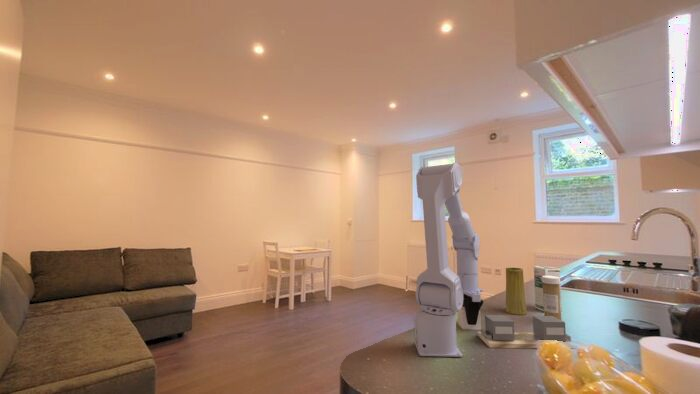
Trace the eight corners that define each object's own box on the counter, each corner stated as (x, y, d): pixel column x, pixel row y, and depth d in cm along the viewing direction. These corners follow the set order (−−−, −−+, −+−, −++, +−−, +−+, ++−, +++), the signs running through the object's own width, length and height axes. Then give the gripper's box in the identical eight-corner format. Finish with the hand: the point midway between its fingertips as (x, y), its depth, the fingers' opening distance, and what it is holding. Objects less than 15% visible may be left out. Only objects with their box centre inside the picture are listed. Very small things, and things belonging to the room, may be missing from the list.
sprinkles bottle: (565, 323, 92) (562, 276, 93) (557, 326, 89) (555, 278, 90) (548, 319, 95) (545, 274, 96) (540, 321, 93) (538, 276, 94)
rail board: (489, 347, 74) (488, 323, 74) (477, 335, 82) (477, 313, 82) (577, 349, 73) (575, 324, 73) (556, 336, 81) (555, 314, 81)
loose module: (462, 329, 87) (462, 310, 87) (458, 324, 91) (457, 306, 92) (480, 329, 86) (480, 310, 87) (475, 324, 91) (474, 306, 91)
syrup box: (534, 308, 107) (532, 265, 108) (550, 307, 108) (547, 265, 109) (546, 313, 102) (544, 268, 103) (563, 312, 102) (560, 267, 104)
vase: (522, 310, 105) (520, 267, 106) (530, 315, 99) (527, 270, 100) (503, 309, 106) (501, 267, 107) (509, 314, 100) (507, 269, 101)
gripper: (491, 277, 83) (493, 330, 81) (473, 269, 97) (474, 314, 96) (464, 277, 83) (466, 330, 82) (450, 269, 97) (451, 313, 96)
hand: (469, 321), depth 89 cm, fingers closed on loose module, 4 cm apart
